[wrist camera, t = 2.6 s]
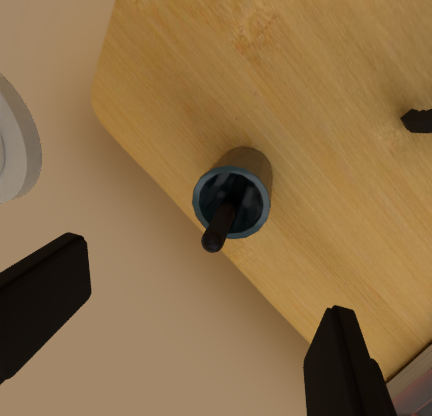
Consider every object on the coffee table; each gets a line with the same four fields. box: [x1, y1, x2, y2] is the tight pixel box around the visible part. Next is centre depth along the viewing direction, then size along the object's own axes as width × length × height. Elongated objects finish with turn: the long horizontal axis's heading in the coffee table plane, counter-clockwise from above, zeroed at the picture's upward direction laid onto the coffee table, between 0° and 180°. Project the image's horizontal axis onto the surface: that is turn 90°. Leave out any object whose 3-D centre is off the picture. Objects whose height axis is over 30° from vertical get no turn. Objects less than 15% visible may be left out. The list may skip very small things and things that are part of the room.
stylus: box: [201, 174, 248, 253], centre depth 19 cm, size 1×1×13 cm
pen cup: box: [192, 147, 273, 239], centre depth 22 cm, size 6×6×8 cm
